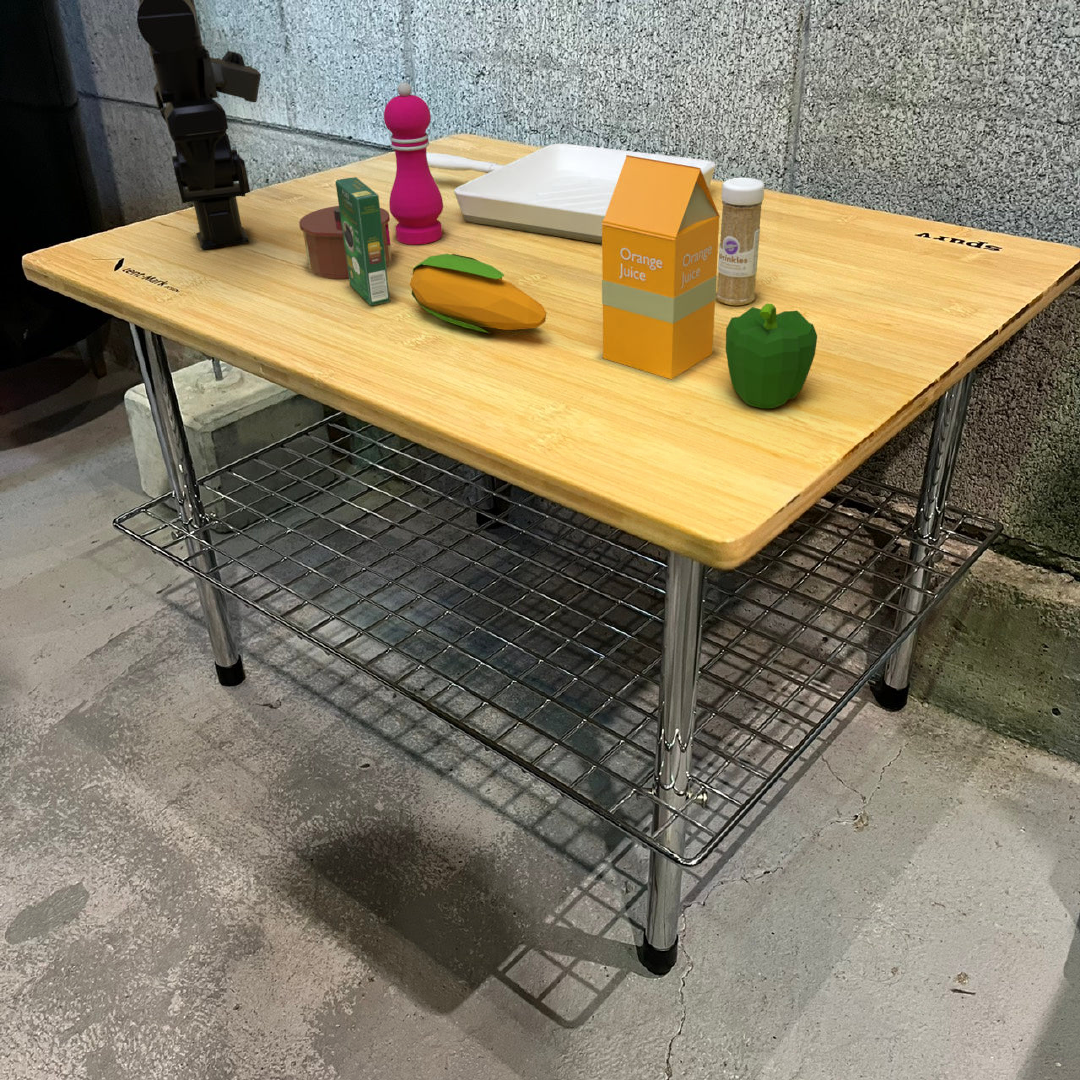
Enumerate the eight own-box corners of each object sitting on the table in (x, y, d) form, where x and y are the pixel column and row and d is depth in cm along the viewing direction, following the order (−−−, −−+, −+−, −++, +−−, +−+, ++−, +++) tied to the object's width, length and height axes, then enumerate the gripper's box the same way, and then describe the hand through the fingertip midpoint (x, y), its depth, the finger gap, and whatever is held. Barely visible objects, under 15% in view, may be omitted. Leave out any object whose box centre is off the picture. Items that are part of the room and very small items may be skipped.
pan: (628, 253, 140) (628, 215, 138) (360, 209, 161) (355, 175, 158) (719, 193, 160) (721, 159, 157) (470, 161, 181) (468, 130, 178)
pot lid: (292, 221, 142) (289, 203, 140) (378, 208, 145) (375, 190, 143) (310, 247, 133) (307, 228, 131) (400, 232, 136) (398, 214, 135)
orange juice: (671, 379, 109) (677, 178, 98) (601, 358, 114) (599, 163, 103) (714, 353, 114) (724, 158, 103) (645, 333, 119) (648, 145, 108)
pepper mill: (437, 247, 146) (422, 88, 134) (386, 245, 147) (367, 88, 136) (451, 229, 151) (438, 76, 140) (402, 228, 153) (385, 76, 142)
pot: (302, 258, 144) (295, 216, 141) (380, 245, 147) (375, 204, 144) (318, 284, 136) (311, 241, 133) (400, 270, 139) (396, 227, 136)
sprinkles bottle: (711, 304, 125) (717, 186, 118) (721, 290, 129) (727, 174, 121) (751, 308, 124) (759, 189, 116) (759, 294, 127) (768, 177, 120)
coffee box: (393, 303, 130) (379, 192, 122) (370, 308, 129) (355, 196, 121) (371, 282, 136) (357, 175, 128) (349, 286, 135) (333, 179, 127)
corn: (435, 233, 126) (568, 267, 115) (445, 294, 131) (573, 333, 120) (389, 255, 122) (521, 294, 111) (400, 318, 127) (528, 361, 115)
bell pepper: (756, 370, 110) (764, 275, 105) (825, 395, 105) (836, 296, 100) (703, 398, 106) (707, 300, 100) (772, 425, 101) (781, 324, 95)
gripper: (260, 43, 116) (285, 190, 125) (235, 19, 131) (259, 153, 139) (152, 54, 113) (186, 205, 122) (139, 29, 127) (170, 165, 136)
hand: (204, 180), depth 130 cm, fingers open, 9 cm apart
